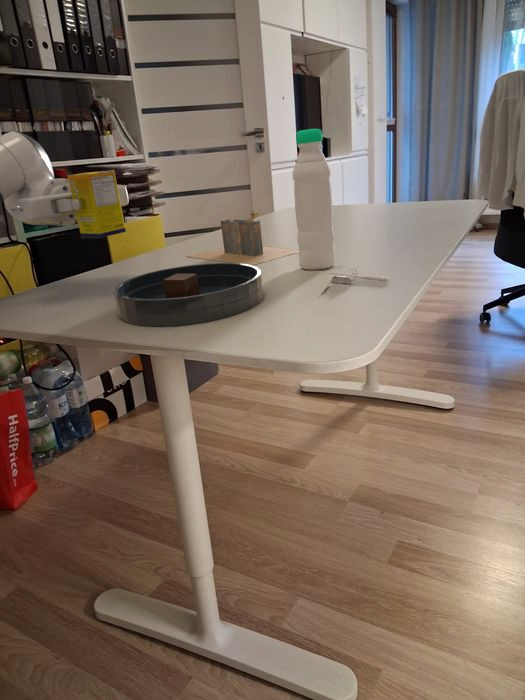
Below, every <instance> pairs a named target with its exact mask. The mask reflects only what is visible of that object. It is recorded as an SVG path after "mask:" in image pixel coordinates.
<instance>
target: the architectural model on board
mask: <svg viewBox="0 0 525 700" xmlns="http://www.w3.org/2000/svg"><path fill="white" fill-rule="evenodd" d="M259 215H260V211H257V212H255V210H253V211H252V212H250V218H249V219H233V220H231V219H230V218H229V219H223V220H220V229H221V235H222V244H223V247H224V250H223V249H220V248H221V247H220V248H215V249H211V250H207V251H203V252H199V253H195V254H191V255H187V256H185V257H186V258H193V259H194V258H195V259H201V260H208V261H215V262H221V263H238V264H247V265H252V266H255V265H258V264H263V263H266V262H269V261H272V260H277V259H280V258H284V257H288V256H291V255H294V254H297V253H298V254H299V249H296V248H295V249H294V248H283V247H273V246H272V247H271V246H264V245H263V239H262V227H261V220H255V219H257V217H259Z"/></svg>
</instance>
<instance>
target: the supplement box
mask: <svg viewBox="0 0 525 700" xmlns="http://www.w3.org/2000/svg"><path fill="white" fill-rule="evenodd" d="M67 179H68V180H69V185H70V189H71V193H72V198H73V199H83V200H84V205H85V209H81V210H75V211H76V216H77V220H78V222H77V225H78V228H79V233H80V236H81V239H102V238H106V237H110V236H115V235H119V234H123V233H126V232H127V229H126V224H125V218H124V214H123V210H122V209H123V208H122V206H121V203H120V198H119V193H118V188H117V185H118V184H117V178H116V173H115V170H114V169H111V170H103V171H102V170H101V171H92V172H91V171H90V172H82V173H76V174H69V175H67Z"/></svg>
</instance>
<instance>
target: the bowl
mask: <svg viewBox="0 0 525 700" xmlns="http://www.w3.org/2000/svg"><path fill="white" fill-rule="evenodd" d="M175 274H197V279H198V286H199V292H200V295H195V296H188V297H180V298H169V299H166V294H165V288H164V282H163V280H164V279H166V278H168V277H170V276H173V275H175ZM263 285H264V284H263V277H262V270H261V269H259V267H258V266H255V265H247V264H238V263H229V262H213V263H212V262H211V263H209V262H208V263H198V264H190V265H189V264H188V265H182V266H174V267H170V268H164V269H159V270H155V271H152V272H148V273H144V274H141V275H137V276H135V277H132V278H128V279H126V280H124V281H123V282H121V283H119V284H118V285H117V286H115V287H114V289H113V295H114V300H115V306H116V311H117V315H118V317H119V318H120V319H121V321H123V322H125V323H127V324H131V325H136V326H141V327H143V326H144V327H177V326H188V325H196V324H201V323H207V322H213V321H216V320H221V319H224V318H228V317H231V316H234V315H239V314H241V313H243V312H245V311H247V310H251V309H252V308H254V307H255V306H257V305H259V304H260V302H262V300H263V299H264V286H263Z"/></svg>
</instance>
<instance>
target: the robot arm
mask: <svg viewBox="0 0 525 700" xmlns="http://www.w3.org/2000/svg"><path fill="white" fill-rule="evenodd" d="M117 188H118V193H119V198H120V203H121V207H126V206H127V205H129V203H130V202H129V201H130V200H129V194H128V190H127V187H126V186H125V185H123V184H117ZM3 202H4V208H5V209H6V211H7V212H8V214H9V215H10V216H11V217H13V218H14V219H16V220H17V221H19V222H21V223H24V224H27V225H30V226H31V225H33V226H51V227H52V226H54V227H67V226H68V227H69V226H73V225H74V224H76V223H78V220H77V216H76V211H75V210H81V209H85V205H84V200H83V199H73V198H72V193H71V189H70V185H69V180H68V178H62V177H61V178H58V177H57V178H55V173H54V169H53V164H52V163H51V160H50V158H49V156H48V154H47V152H46V151H45V149H44V148H43V146H42V145H41V144H40V142H38V141H37V140H35V139H34V138H33V137H31V136H30V135H27V134H25V133H23V132H21V131H18V130H10V131H9V132H6V133H4V134H2V135H0V204H2V203H3Z"/></svg>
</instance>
